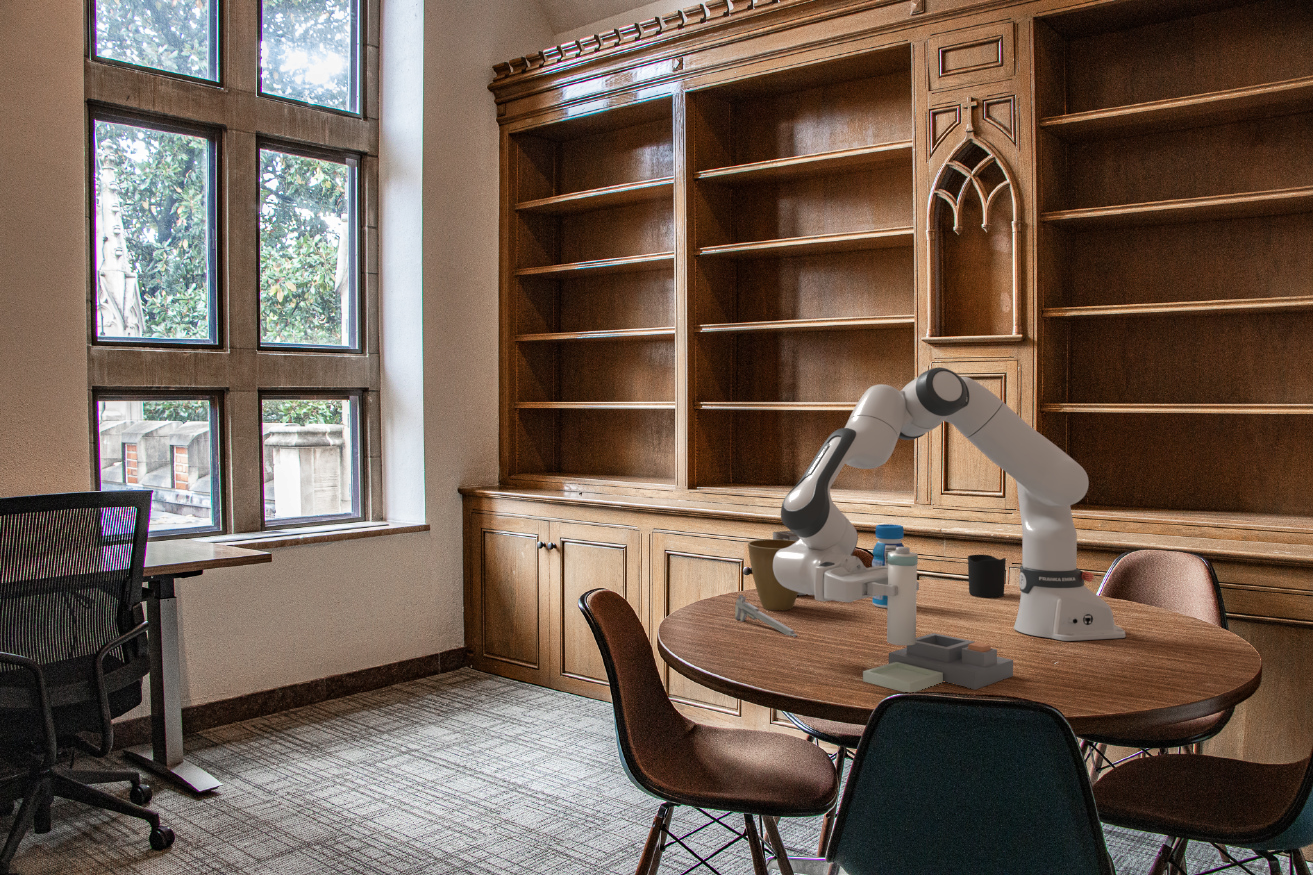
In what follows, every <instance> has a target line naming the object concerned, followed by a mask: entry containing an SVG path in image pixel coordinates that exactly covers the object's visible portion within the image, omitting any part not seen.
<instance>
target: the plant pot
mask: <svg viewBox="0 0 1313 875" xmlns="http://www.w3.org/2000/svg"><path fill="white" fill-rule="evenodd" d="M795 542H797V541H793V540H779V539H773V538H771V539H768V538H767V539H756V540H751V541H750V540H749V541H748V542H747V547H748V556H749V560H750V567H751V572H752V578H753V581H754V584H755V588H756V591H757V595H758V598H759V600H760V604H761V606H762V608H763V609H764V610H768V609H769V610H770V611H777V610H782V611H789V610H788V609H790V610H792V609H793V607H794V605H795V602H796V600H797V595H798V592H796V591H793V590H790V589H788V588H785V587H784V586H782V585H781V584H780V583H779V582H778V581H777V579H776V577H775V575H774V571H773V559H774V556H775V554H776V553H777V551H779V550H780V549H783V548H787V547H789V546H791V545H793V544H794V543H795ZM791 608H792V609H791ZM769 610H768V611H769Z"/></svg>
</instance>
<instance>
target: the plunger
mask: <svg viewBox="0 0 1313 875" xmlns="http://www.w3.org/2000/svg"><path fill="white" fill-rule="evenodd" d="M991 645H992V644H989V643H984V642H979V641H975V643H971V644H968V649H969V650H974V651H978V652H986V651H989V650H991V648H992V647H991Z"/></svg>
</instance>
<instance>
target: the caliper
mask: <svg viewBox="0 0 1313 875" xmlns="http://www.w3.org/2000/svg"><path fill="white" fill-rule="evenodd" d="M746 598H747V596H744V595H743V594H739V595H738V598H737V599H736V602H735V609H734V612H735V613H734V615H735V616H734V617H735V618H734V619H735V620H736V621H738V620H739V621H740V622H746V620H747V617H749V618H750V619H752V620H753V621H755V620H759V621H761V622H763V623H764V624H766V625H768V626H770V627H772V628H773V629H775V630H777V631H778V632H780V633H781V634H784V635H785V636H788V635H789V637H792V636H793V637H792V638H797V637H798V634H797V633H796V632H795V630H794V629H792V628H790V627H789V626H787V625H785V624H783V623H782V622H780V621H778V620H776V619H775V618H773V617H772V616H769V615H767V614H766V613H765V612H762V611H760V609H759V608H758V607H756V606H755V605H753V604H752V603H750V602H748V601H746ZM796 636H797V637H796Z"/></svg>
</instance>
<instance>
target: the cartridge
mask: <svg viewBox="0 0 1313 875" xmlns="http://www.w3.org/2000/svg"><path fill="white" fill-rule="evenodd" d="M910 549H911V548H910V547H909V546H904V547H896V551H892V552H888V585H896V586H897V587H898V595H896V596H892V597H891V596H888V607H887V608H886V610H887V613H886V616H887V617H886V618H887V619H886V620H887V621H886V623H887V624H886V627H887V628H886V630H887V631H886V642H887V643H888V644H892V645H895V646H907V645H914V644H915V643H916V638H917V637H916V636H917V592H918V591H917V581H918V579H917V578H918V564H919V563H918V562H919V560H918V558H919V555H918V553H917V552H912V551H911V550H910Z"/></svg>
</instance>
